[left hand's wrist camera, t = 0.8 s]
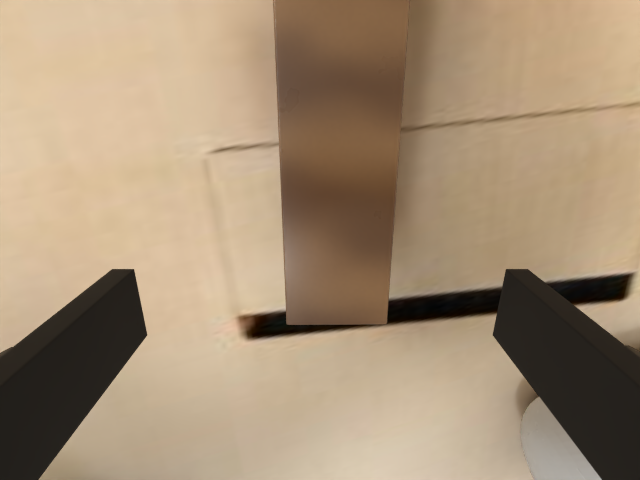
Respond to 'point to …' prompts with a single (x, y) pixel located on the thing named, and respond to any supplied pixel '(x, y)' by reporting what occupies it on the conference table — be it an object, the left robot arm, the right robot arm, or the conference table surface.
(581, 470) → the projector
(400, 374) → the conference table surface
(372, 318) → the bar
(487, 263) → the conference table surface
